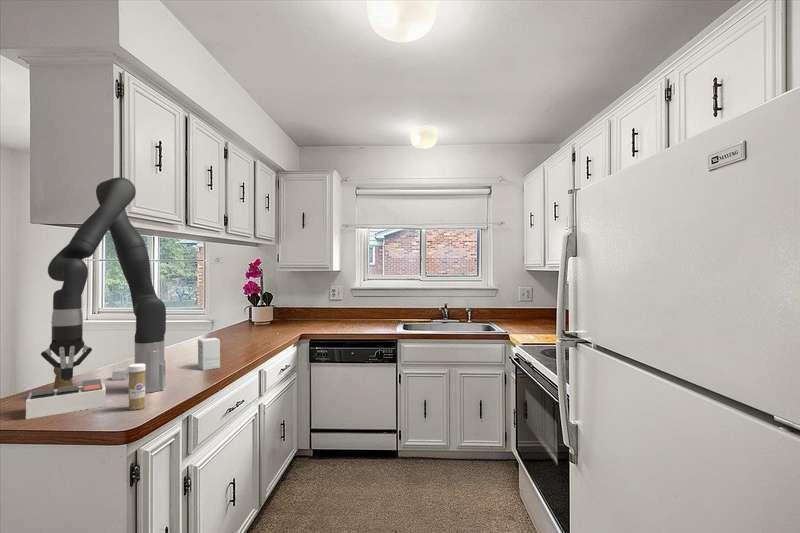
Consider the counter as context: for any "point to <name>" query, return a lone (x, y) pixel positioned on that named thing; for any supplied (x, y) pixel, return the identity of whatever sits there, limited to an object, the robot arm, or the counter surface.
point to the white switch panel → (64, 402)
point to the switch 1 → (43, 392)
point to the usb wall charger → (120, 374)
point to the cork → (59, 381)
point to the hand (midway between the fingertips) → (66, 380)
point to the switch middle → (67, 389)
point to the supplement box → (208, 353)
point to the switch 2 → (91, 385)
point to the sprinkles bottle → (136, 386)
